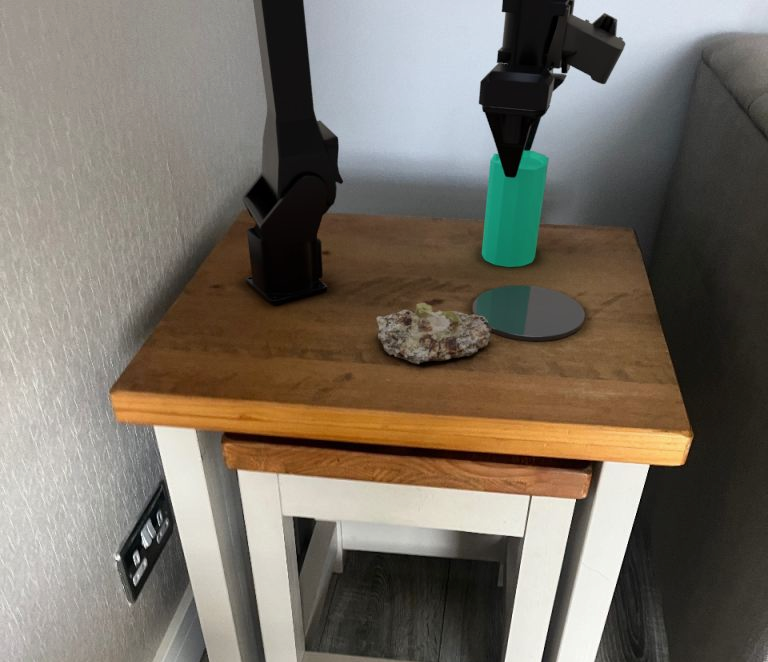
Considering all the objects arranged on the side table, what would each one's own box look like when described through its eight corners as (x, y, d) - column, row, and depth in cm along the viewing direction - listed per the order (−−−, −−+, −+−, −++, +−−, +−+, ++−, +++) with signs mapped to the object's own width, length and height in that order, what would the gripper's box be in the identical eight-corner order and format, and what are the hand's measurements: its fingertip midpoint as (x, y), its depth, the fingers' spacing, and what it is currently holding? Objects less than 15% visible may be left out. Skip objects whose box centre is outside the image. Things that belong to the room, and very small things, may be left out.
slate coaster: (521, 352, 71) (522, 347, 71) (450, 306, 78) (450, 301, 78) (607, 322, 76) (608, 317, 76) (532, 281, 83) (533, 276, 83)
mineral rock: (376, 346, 67) (376, 283, 72) (374, 381, 71) (374, 319, 75) (500, 350, 68) (492, 287, 72) (491, 384, 71) (485, 323, 76)
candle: (533, 246, 90) (549, 135, 82) (536, 268, 85) (552, 152, 78) (481, 244, 90) (491, 133, 82) (481, 265, 86) (492, 150, 78)
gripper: (622, 5, 63) (587, 202, 73) (635, -24, 76) (604, 145, 86) (486, -4, 65) (470, 188, 75) (522, -30, 78) (505, 136, 89)
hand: (518, 163), depth 81 cm, fingers open, 9 cm apart
